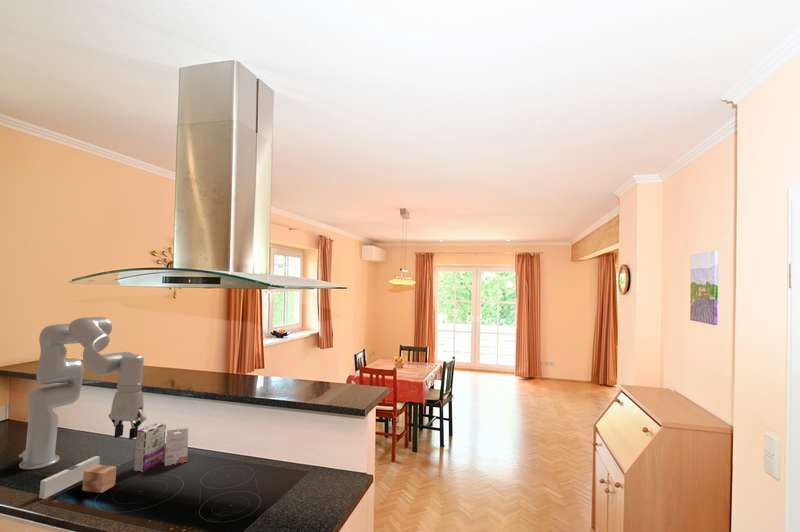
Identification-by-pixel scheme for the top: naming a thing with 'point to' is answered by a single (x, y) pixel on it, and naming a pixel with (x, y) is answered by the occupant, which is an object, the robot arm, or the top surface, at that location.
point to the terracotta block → (99, 478)
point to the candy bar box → (149, 447)
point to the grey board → (66, 477)
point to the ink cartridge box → (176, 446)
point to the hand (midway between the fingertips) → (125, 436)
